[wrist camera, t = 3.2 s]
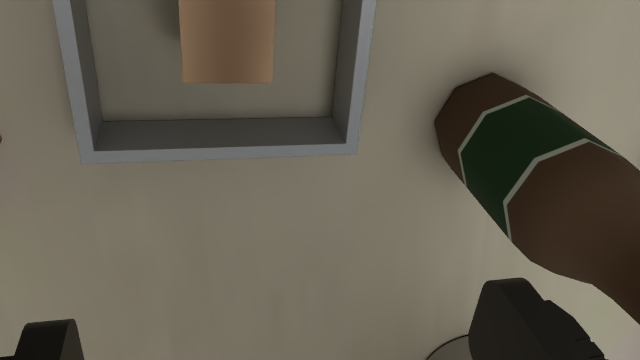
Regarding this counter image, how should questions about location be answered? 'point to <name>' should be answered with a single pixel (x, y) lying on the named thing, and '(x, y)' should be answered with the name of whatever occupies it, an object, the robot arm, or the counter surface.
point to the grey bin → (215, 134)
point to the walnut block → (227, 40)
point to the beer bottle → (547, 185)
